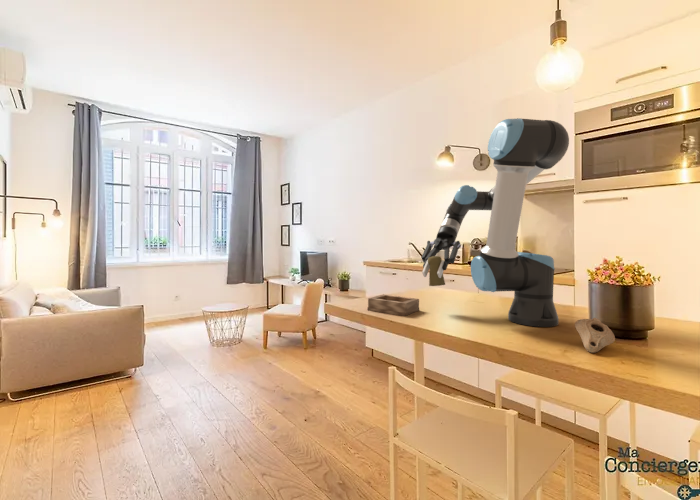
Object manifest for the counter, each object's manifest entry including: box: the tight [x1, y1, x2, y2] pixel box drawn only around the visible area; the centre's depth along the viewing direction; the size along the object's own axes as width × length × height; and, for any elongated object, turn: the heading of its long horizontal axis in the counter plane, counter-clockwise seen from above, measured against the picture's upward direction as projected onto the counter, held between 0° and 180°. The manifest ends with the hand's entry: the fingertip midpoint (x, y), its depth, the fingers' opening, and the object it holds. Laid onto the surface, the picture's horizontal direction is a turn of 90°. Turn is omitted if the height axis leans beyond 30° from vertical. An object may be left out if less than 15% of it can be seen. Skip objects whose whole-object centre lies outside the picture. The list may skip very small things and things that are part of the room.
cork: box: [428, 255, 446, 287], centre depth 133 cm, size 6×6×11 cm
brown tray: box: [367, 293, 420, 317], centre depth 135 cm, size 16×12×4 cm
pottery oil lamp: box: [574, 317, 616, 354], centre depth 92 cm, size 9×12×7 cm
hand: (431, 275), depth 131 cm, fingers closed on cork, 5 cm apart
